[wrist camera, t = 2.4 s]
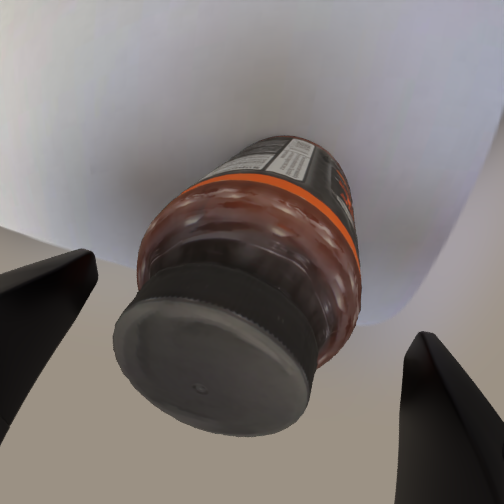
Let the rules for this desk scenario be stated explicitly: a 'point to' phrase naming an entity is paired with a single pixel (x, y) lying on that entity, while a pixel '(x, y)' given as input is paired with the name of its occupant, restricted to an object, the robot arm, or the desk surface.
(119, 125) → the desk surface
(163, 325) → the supplement bottle
